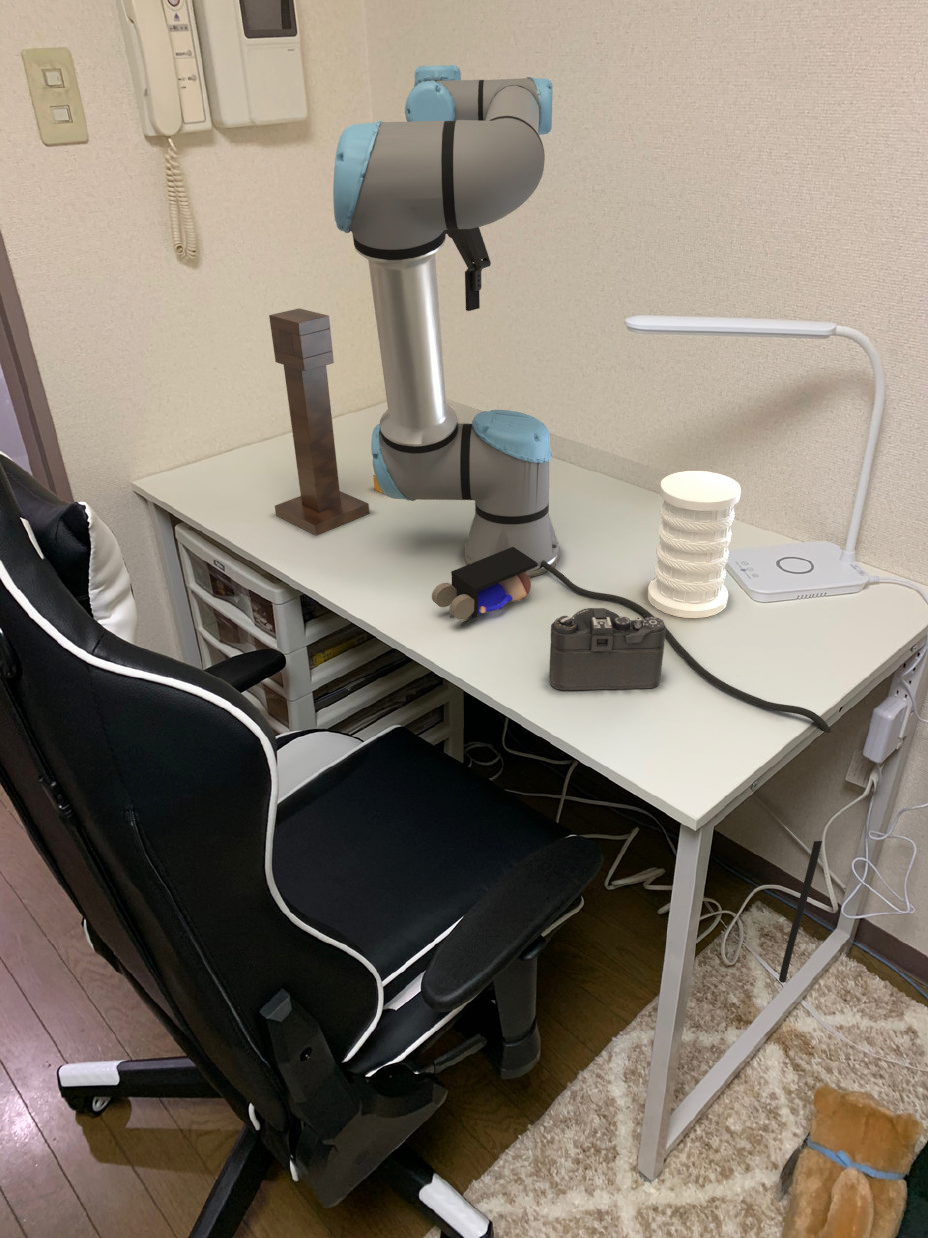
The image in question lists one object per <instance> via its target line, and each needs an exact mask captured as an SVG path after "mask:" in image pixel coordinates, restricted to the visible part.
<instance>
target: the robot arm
mask: <svg viewBox="0 0 928 1238" xmlns="http://www.w3.org/2000/svg"><path fill="white" fill-rule="evenodd" d="M414 70H415V71H414V85H413V87H412V89H411V91H410V92H409V93H408V96H407V98H406V99H405V105H404V114H405V120H406V121H382V120H377V121H376V122H365V123H355V124H354V123H353V124H351V125H349V126H347V127H346V128H345V129H344V130H343V131H342V132H341V135H340V136H339V139H338V142H337V147H336V152H335V158H334V168H333V184H332V185H333V187H332V188H333V190H332V191H333V192H332V196H333V200H332V201H333V203H332V204H333V216H334V222H335V223H336V224H335V225H336V228H337V229H338V230H339V231H340V232H344V233H345V234H349V233H350V232H351V233H352V241H353V246H354V250H355V251H356V252H357V253H358V254H359V255H360V256H362V257H363V258H364V259H366V260H367V262H368V269H369V276H370V285H371V292H372V298H373V299H372V300H373V307H374V315H375V321H376V328H377V330H376V331H377V336H378V345H379V351H380V359H381V366H382V375H383V382H384V389H385V396H386V397H385V398H386V403H387V409H386V410H385V411H384V412H383V413H382V415H381V417H380V420H379V423H378V424H376V425H375V426H374V428H373V430H372V433H371V444H370V445H371V446H370V448H371V455H372V467H373V471H374V475H375V476H376V479H377V482H378V485H379V487H380V489H381V490H382V492H383V493H384V495H385V496H386V497H387V498H390V499H393V500H394V499H395V500H405V501H411V502H414V501H416V500H419V501H421V500H425V501H428V500H429V501H430V500H431V501H474V516H473V520H472V522H471V526H470V529H469V533H468V536H467V538H466V541H465V545H464V560H465V562H466V565H469V564H471V563H474V562H476V561H478V560H481V559H483V558H486V557H488V556H491V555H493V554H496V553H498V552H501V551H503V550H506V549H508V548H511V547H515V548H516V549H518V550H519V551H521V552H522V553H524V554H525V555H527V556H528V557H530V558H531V559H533V560H534V561H535V562H537V563H538V566H537V567H535V568H533V569H530V570H528V571H525V573H526V574H527V575H528V577H529V578H532V577H533V578H534V577H537V576H539V575H542V574H545V573H547V572H549V573H551V575H553V576H554V577H556V578H557V579H558V580H559V581H561V582H562V583H563V584H564V586H566V587H567V588H569V589H570V590H571V591H573V592H574V593H577V594H578V595H581V596H585V597H587V598H593V599H598V600H606V601H611V602H616V603H618V604H619V603H620V604H622V605H624V606H627V607H629V608H631V609H632V610H634V611H635V612H637V613H639V614H641V616H642V617H644V619H645V618H647V617H655V615H653V614H652V613H651V612H650V611H648V610H647V609H646V608H644V607H643V606H642V605H640V604H638V603H636V602H635V601H632V600H630V599H628V598H627V597H623V596H620V595H617V594H610V593H604V592H597V591H593V590H592V591H591V590H588V589H585V588H582V587H580V586H578V585H576V584H575V583H574V582H572V580H570V579H569V578H568V577H567V576H566V575H564V574H563V573H562V572H561V571H559V570H558V569H556V568H555V566H556V565H557V564H558V563H559V560H560V546H559V541H558V538H557V535H556V532H555V528H554V526H553V522H552V519H551V516H550V461H551V460H552V456H553V455H552V451H551V434H550V431H549V429H548V426H546V424H545V423H544V422H543V421H541V420H540V419H539V418H536V417H534V416H533V415H530V414H527V413H524V412H520V411H514V410H509V409H491V410H484V411H481V412H478V413H477V414H476V415H475V416H474V417H473V419H472V421H471V423H459V421H458V420H459V419H458V414H457V412H456V410H455V409H454V408H453V407H452V406H451V405H449V403H447V396H446V382H445V370H444V369H445V368H444V356H443V343H442V342H443V341H442V331H441V328H442V327H441V317H440V303H439V291H438V290H439V289H438V275H437V261H436V254H437V253H438V252H439V251H440V250H441V249H442V247H443V246H444V245H445V243H446V239H447V236H448V238H450V239H452V242H453V244H454V245H455V247H456V249H457V251H458V253H459V254H460V256H461V258H462V260H463V262H464V263H465V266H466V268H467V269H466V270H465V271H464V287H465V288H464V291H465V292H464V293H465V298H464V299H465V311H467V312H471V311H475V310H479V309H480V308H481V305H480V303H481V302H480V291H481V290H482V270H483V269H486V268H489V267H491V263H492V261H491V259H490V256H489V253H488V250H487V247H486V243H485V241H484V238H483V235H482V231H481V229H480V228H481V227H484V226H487V225H490V224H491V225H492V224H493V223H495V222H497V221H499V220H501V219H503V218H505V217H507V216H508V215H509V214H511V213H513V212H514V211H516V210H517V209H518V208H520V207H521V206H522V205H524V203H526V201H528V199H529V198H530V197H532V195H533V194H534V193H535V191H536V190H537V188H538V187H539V184H540V182H541V180H542V177H543V175H544V170H545V148H544V143H543V141H542V137H541V136H542V135H548V134H549V133H550V132H551V130H552V127H553V126H552V125H553V82H552V81H551V80H550V79H549V78H543V77H541V78H539V77H537V78H536V77H532V76H527V77H525V78H522V77H521V78H501V79H462V75H461V74H462V73H461V69H460V67H459V66H457V65H455V64H447V65H420V66H417V67H416V68H415V69H414ZM446 235H447V236H446ZM383 493H382V494H383ZM665 640H667V641H668V643H669V644H670V645H671V646H672V647H673V649H674V650H675V651H676V652H677V653H678V654H679V655H680V656H681V657H682V658H683V660H685V662H686V663H687V664H688V665H689V666H690V667H691V668H692V669H693V670H694V671H695V672H696V673H698V674H699V675H700V676H701V677H702V678H704V679H705V680H706V681H708V682H709V683H711V684H712V685H714V686H716V688H719V689H720V690H722V691H724V692H726V693H728V694H729V695H731V696H734V697H735V698H738V699H741V700H743V701H746V702H748V703H750V704H752V705H755V706H757V707H760V708H762V709H766V710H769V711H773V712H774V711H775V712H780V713H787V714H795V715H799V716H802V717H805V718H807V719H809V720H811V721H812V722H814V723H815V724H816V725H817V726H818V727H819V729H820V730H821V731H822V732H824V733H826V734H830V733H831V732H832V730H831V728H830V726H829V725H828V723H827V722H826V721H825V719H823V718H822V717H821V716H820V715H819V714H818V713H816V712H815V711H812V710H810V709H808V708H805V707H802V706H801V707H800V706H797V705H796V706H795V705H790V704H782V703H777V702H772V701H767V700H765V699H762V698H759V697H757V696H755V695H752V694H750V693H747V692H745V691H743V690H741V689H738V688H736V687H734V686H732V685H730V684H728V683H726V682H724V681H723V680H721V679H720V678H718V677H716V675H713V674H712V673H711V672H709V671H708V670H707V669H706V668H704V667H703V666H702V665H701V664H700V663H699V662H698V661H697V660H696V659H695V658H694V657H693V656H692V655H691V654H690V653H689V652H688V651H687V650H686V649H685V648H684V647H683V646H682V645H681V643H680V642H679V641H678V640H677V638H676V637H675V635H673V634H672V633H671V631H670V630H669V629H668V628H667V627H666V631H665ZM822 844H823V841H822V840H813V844H812V848H811V852H810V857H809V861H808V864H807V868H806V873H805V877H804V880H803V884H802V888H801V891H800V895H799V899H798V901H797V905H796V908H795V909H796V910H795V913H794V917H793V920H792V924H791V927H790V932H789V935H788V940H787V943H786V945H785V951H784V953H783V954H784V955H783V959H782V963H781V967H780V971H779V977H778V981H779V982H780V983H782V984H784V983H786V981H787V977H788V973H789V969H790V964H791V960H792V957H793V952H794V948H795V945H796V941H797V936H798V934H799V929H800V926H801V923H802V919H803V915H804V912H805V908H806V904H807V901H808V898H809V894H810V890H811V887H812V883H813V880H814V876H815V872H816V868H817V864H818V860H819V857H820V852H821V848H822Z"/></svg>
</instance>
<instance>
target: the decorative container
mask: <svg viewBox="0 0 928 1238" xmlns="http://www.w3.org/2000/svg"><path fill="white" fill-rule="evenodd" d="M741 493H742V489H741V485H740V483H739V482H737V481H736V480H735V479H733V478H732V477H729V476H728V475H727V476H726V475H725V474H721V473H718V472H712V471H705V470H686V471H685V470H684V471H679V472H674V473H671V474H669V475H666V476H664V477H663V478H662V479H661V481H660V484H659V495H660V497H661V498H662V500H663V502H662V504H661V507H660V510H659V511H660V517H661V523H660V524H659V527H658V531H657V532H658V538H659V543H658V545H657V547H656V556H657V557H656V558H657V559H658V560H657V562H656V565H655V567H654V575H655V577H654V579H651V581H650V582H649V584H648V586H647V599H648V602H649V603H650V604H651V605H652V606H653V607H654V608H656V610H657V611H658V610H659V611H660V612H662V613H665V614H667V615H669V616H670V615H671V616H673V617H679V618H683V619H702V618H703V619H704V618H708V617H713V616H716V615H717V614H720V613H721V612H722V611H724V610H725V608H726V607H727V603H728V600H729V592H728V589H727V588H726V586H725V585H724V583H725V580H726V578H727V576H726V575H727V573H726V572H727V571H726V565H727V563H728V561H729V555H730V554H729V549H728V546H729V545H730V544H731V543H730V542H731V540H732V535H733V534H732V529H731V527H732V526H731V525H732V524H733V522H734V519H735V517H736V516H735V509H734V507H735V505H736V504H738V503H739V501H740V498H741Z"/></svg>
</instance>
